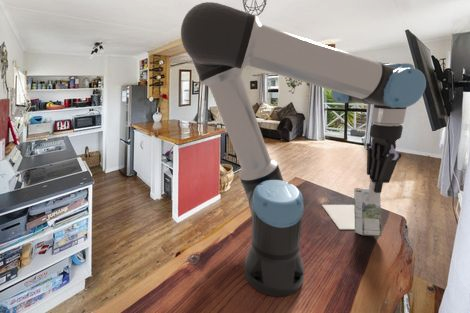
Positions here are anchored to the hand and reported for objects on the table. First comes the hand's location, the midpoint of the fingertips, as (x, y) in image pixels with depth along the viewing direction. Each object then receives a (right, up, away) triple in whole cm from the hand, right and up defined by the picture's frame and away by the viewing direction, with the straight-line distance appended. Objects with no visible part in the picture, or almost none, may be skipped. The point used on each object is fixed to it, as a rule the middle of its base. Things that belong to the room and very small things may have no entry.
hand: (373, 200), depth 71 cm
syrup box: (0, -11, +2) cm, 12 cm away
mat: (0, -9, +15) cm, 17 cm away
